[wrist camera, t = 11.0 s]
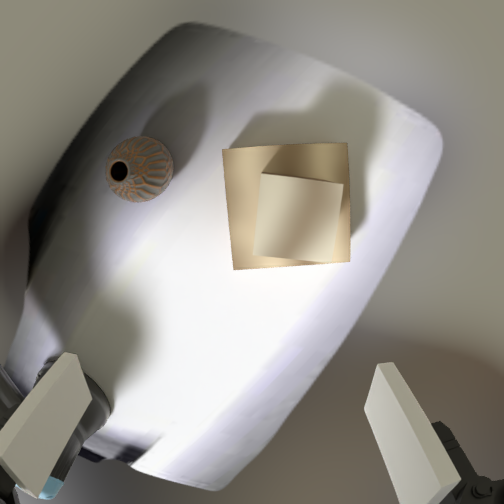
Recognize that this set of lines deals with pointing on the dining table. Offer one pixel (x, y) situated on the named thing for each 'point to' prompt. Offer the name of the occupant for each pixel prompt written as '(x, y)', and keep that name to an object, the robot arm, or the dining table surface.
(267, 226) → the pale wooden block
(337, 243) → the beech base
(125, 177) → the vase
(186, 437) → the dining table surface
